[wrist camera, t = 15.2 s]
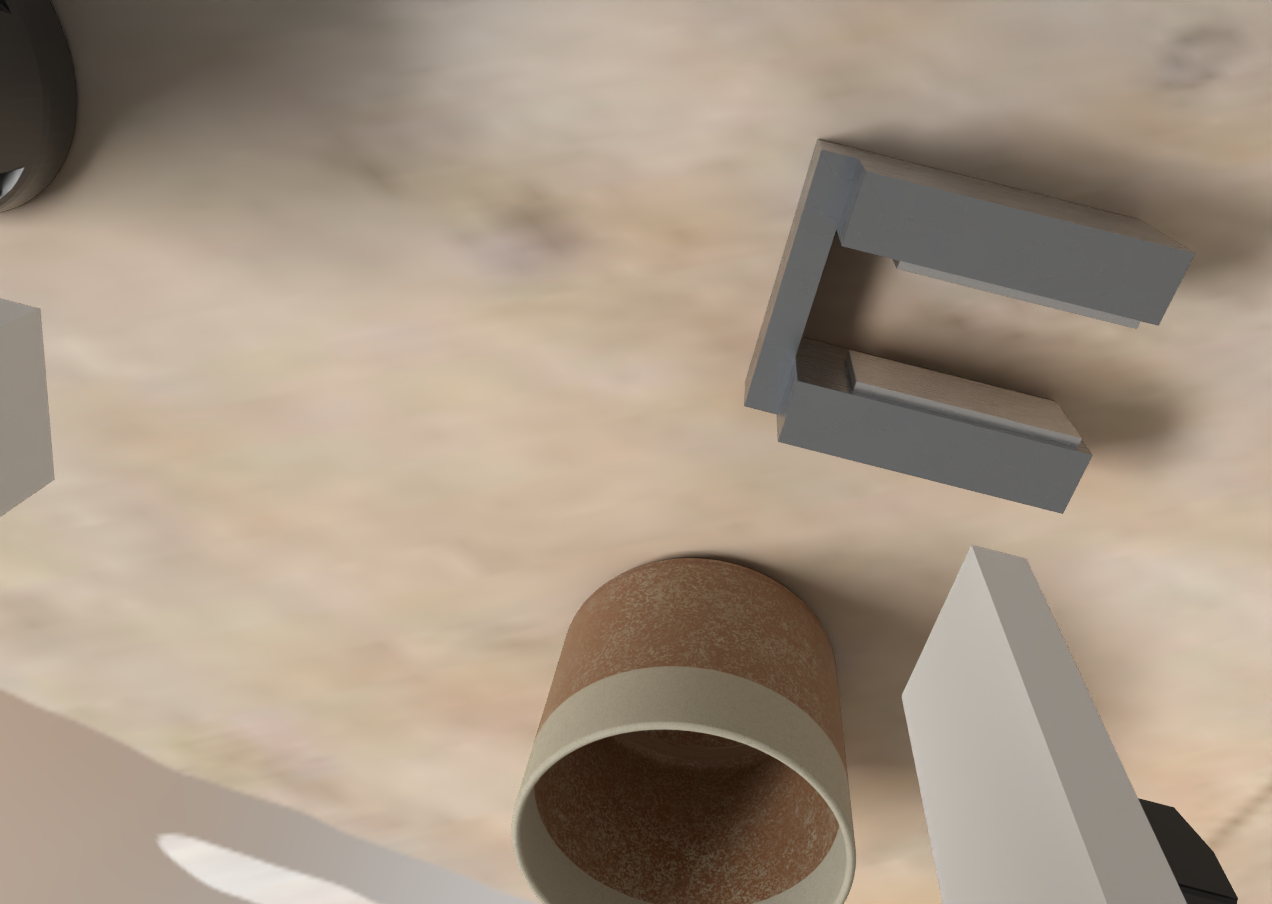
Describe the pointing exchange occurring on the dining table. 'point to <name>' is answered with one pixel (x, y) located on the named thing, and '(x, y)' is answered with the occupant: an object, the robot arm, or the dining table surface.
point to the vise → (962, 254)
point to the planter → (689, 749)
